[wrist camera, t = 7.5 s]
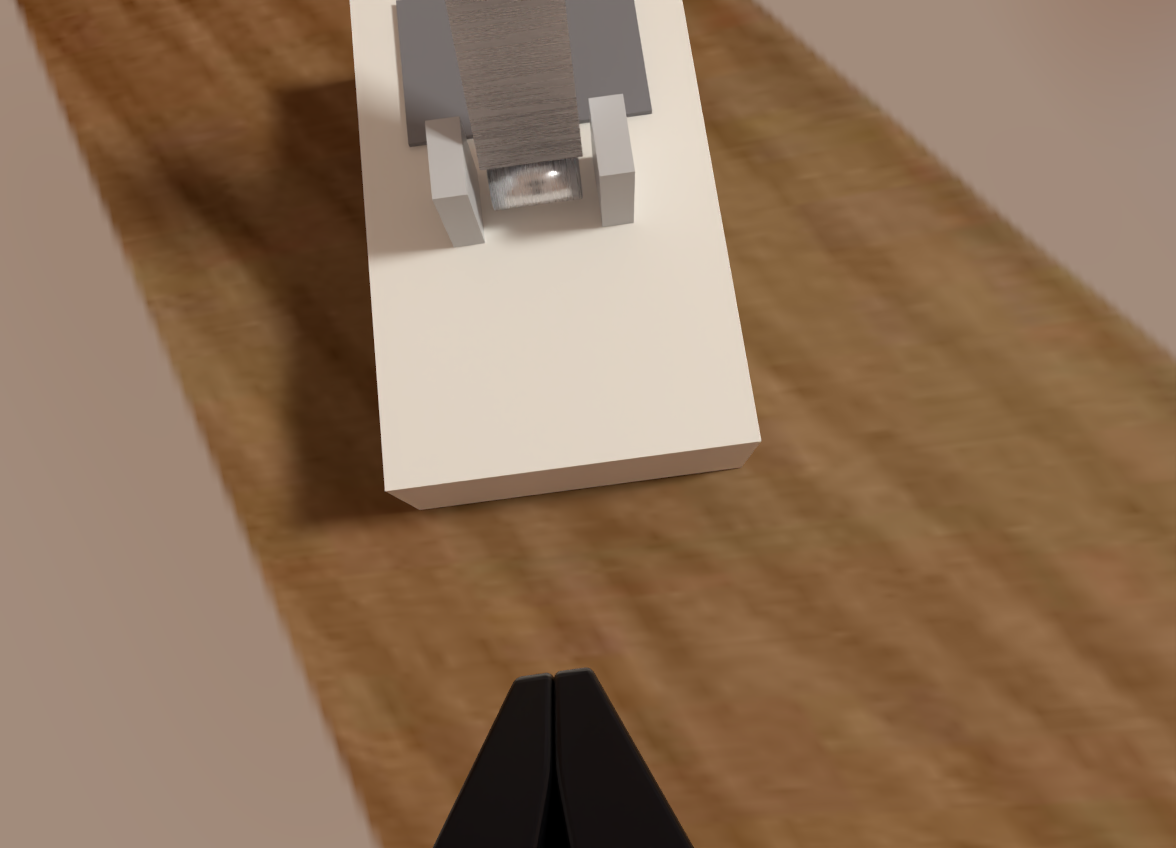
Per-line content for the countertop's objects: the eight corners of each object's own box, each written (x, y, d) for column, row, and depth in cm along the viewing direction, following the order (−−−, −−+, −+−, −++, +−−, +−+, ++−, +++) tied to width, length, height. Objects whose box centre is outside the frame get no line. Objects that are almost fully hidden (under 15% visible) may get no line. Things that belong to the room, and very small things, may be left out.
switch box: (741, 467, 23) (780, 415, 17) (419, 510, 23) (352, 473, 17) (666, 33, 26) (678, -132, 21) (384, 73, 27) (317, -82, 21)
